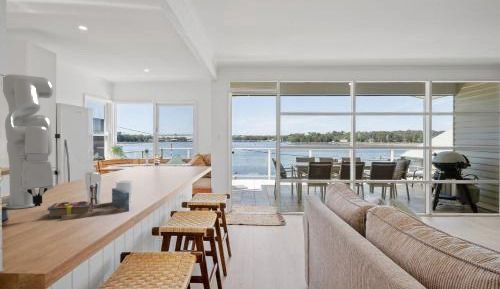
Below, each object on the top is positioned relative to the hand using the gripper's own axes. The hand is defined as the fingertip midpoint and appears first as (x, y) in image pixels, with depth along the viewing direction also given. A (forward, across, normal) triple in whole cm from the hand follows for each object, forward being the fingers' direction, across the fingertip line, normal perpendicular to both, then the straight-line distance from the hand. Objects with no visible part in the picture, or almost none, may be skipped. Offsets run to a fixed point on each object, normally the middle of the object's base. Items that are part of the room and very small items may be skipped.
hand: (37, 205), depth 129 cm
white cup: (+5, +39, +15) cm, 42 cm away
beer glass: (+5, +25, +17) cm, 31 cm away
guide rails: (+5, +19, +1) cm, 20 cm away
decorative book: (+6, +13, +1) cm, 14 cm away
